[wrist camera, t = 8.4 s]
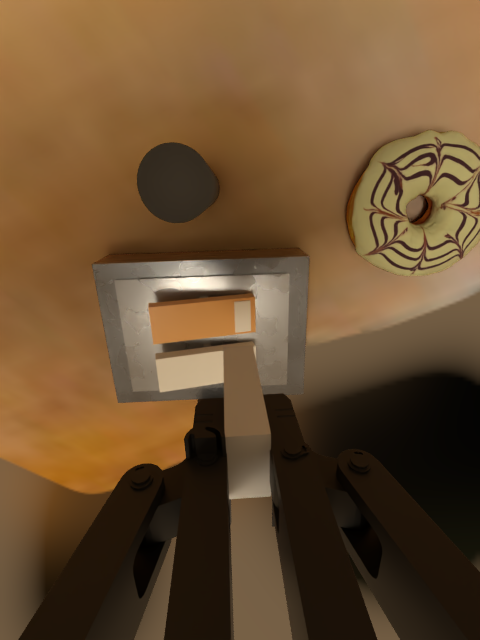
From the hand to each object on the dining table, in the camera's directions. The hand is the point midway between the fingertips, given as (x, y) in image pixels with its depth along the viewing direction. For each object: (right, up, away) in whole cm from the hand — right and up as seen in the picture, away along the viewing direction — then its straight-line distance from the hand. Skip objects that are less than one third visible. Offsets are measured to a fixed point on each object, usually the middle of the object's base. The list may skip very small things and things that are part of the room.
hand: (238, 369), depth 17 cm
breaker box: (-3, +3, +13) cm, 14 cm away
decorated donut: (+14, +12, +11) cm, 21 cm away
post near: (-3, +13, +9) cm, 16 cm away
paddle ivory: (-3, -1, +9) cm, 9 cm away
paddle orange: (-3, +3, +7) cm, 8 cm away
